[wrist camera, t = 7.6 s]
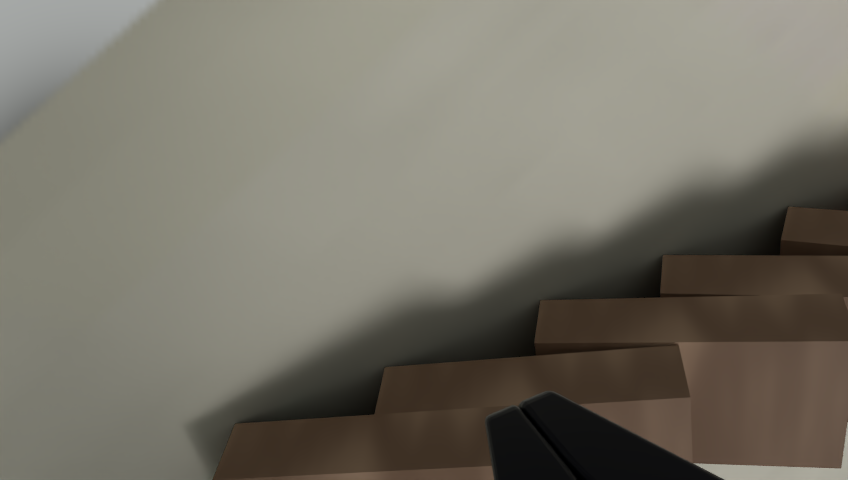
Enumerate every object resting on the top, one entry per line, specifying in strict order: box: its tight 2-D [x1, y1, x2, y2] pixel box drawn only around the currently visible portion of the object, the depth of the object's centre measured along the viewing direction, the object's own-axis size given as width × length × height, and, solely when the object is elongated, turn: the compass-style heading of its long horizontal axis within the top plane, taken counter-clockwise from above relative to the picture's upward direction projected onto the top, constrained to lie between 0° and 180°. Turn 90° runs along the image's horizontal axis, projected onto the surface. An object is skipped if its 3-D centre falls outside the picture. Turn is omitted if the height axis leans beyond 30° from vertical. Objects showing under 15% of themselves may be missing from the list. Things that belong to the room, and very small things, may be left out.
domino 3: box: [534, 294, 848, 468], centre depth 24 cm, size 2×5×8 cm
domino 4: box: [660, 255, 848, 422], centre depth 24 cm, size 2×5×8 cm
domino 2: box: [374, 345, 693, 463], centre depth 23 cm, size 2×5×8 cm
